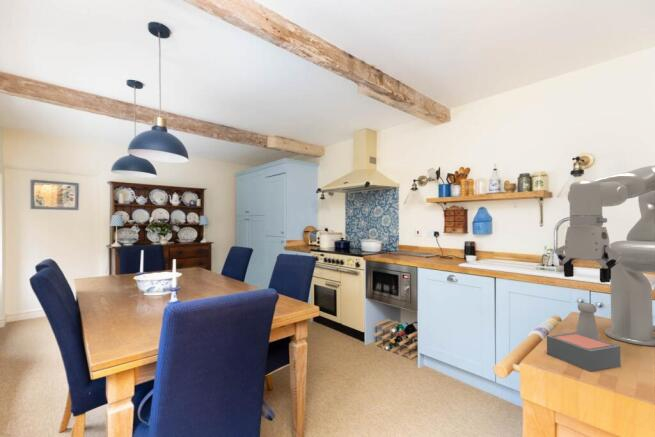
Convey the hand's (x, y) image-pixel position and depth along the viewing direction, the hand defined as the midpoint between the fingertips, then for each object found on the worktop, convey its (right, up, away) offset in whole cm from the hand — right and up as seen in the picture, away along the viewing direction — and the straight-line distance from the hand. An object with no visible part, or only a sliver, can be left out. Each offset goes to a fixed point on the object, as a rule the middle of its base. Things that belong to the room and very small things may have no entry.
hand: (586, 279), depth 91 cm
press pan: (-9, -16, -9) cm, 20 cm away
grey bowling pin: (0, -20, -1) cm, 20 cm away
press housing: (-9, -20, -9) cm, 24 cm away
